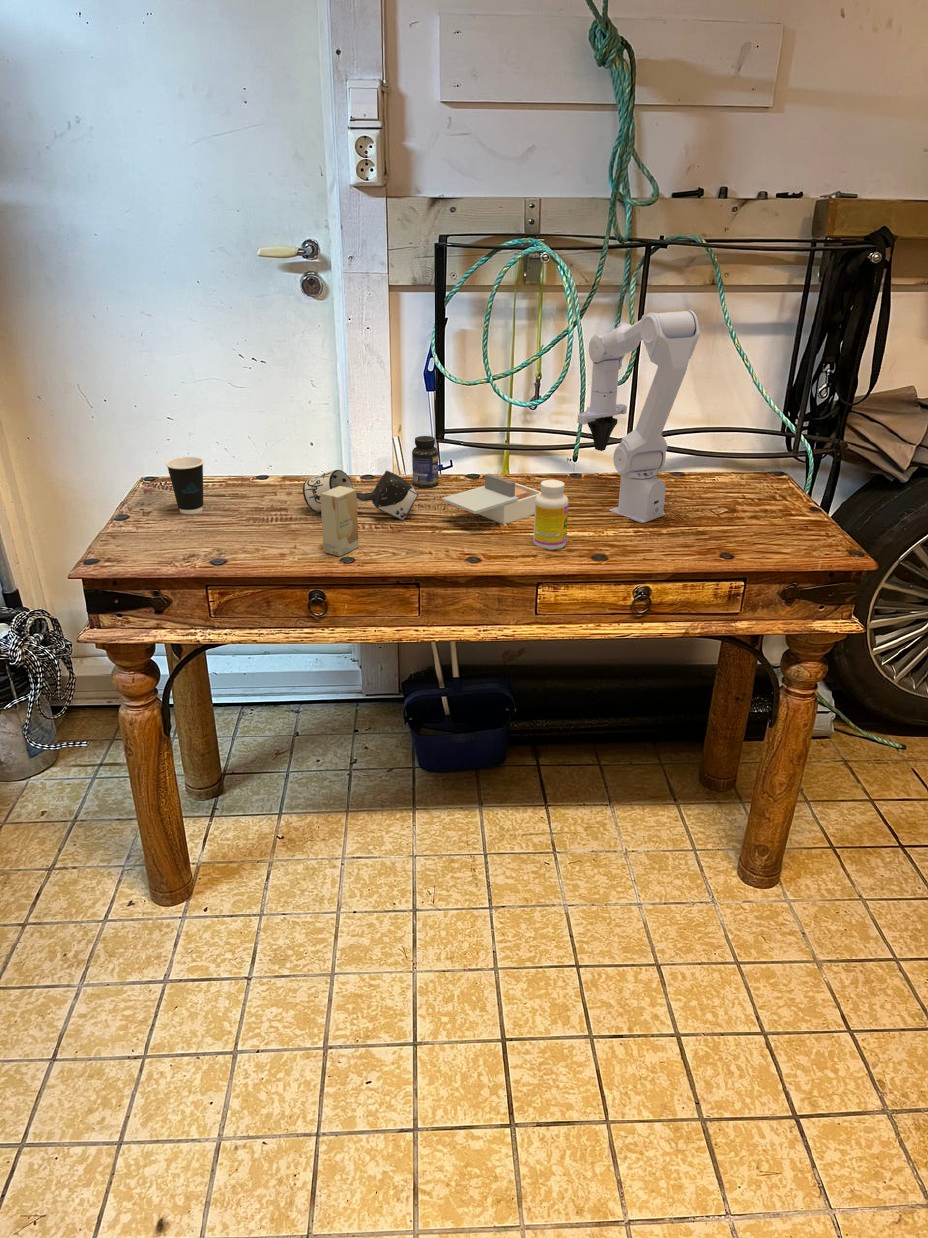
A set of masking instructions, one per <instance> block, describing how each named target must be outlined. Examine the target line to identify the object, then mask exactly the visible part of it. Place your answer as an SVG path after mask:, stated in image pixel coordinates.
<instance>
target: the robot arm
mask: <svg viewBox="0 0 928 1238" xmlns="http://www.w3.org/2000/svg"><path fill="white" fill-rule="evenodd" d="M699 325H700V324H699V319H698V317H697V315H696V313H695V312H694V311H693V310H690V309H687V310H683V311H667V312H648V313H646V314H643V315H642V316H641V319H640V320H638V321H637V322H635V323H634V324H630V323H627V322H619V323H618V324H617V327H616V328H614V329H609V330H607V332H606V333H605V334H594V335H593V336H592V337H591V338H590V340H589V342H588V354H589V358H590V360H591V361H592V372H591V387H590V405H589V406H586V408H587V409H586V410H585V411H583V412H582V413H579V414H577V421H576V422H577V424H580V425H587V426H588V427H589V430H590V433H591V436H592V440H593V446H594V450H596V451H598V452H599V451H600V452H603V451H605V450H606V448H607V446H608V443H609V440H610V438H611V437H610V436H611V435H612V432H613V430H614V429H615V427H616V426H617V424H618V418H615V417H614V416H617V415H625V414H627V408H628V405H626V404H623V403H618V404H617V398H618V397H617V395H618V385H619V371H620V369H621V368H622V364H623V363H622V362H623V360H624V358H625V356H626V355H627V354H629V353H631V352H633V351H635V350H636V349H637V348H639V345H640V342H641V341H643V343H644V347H645V349H646V351H647V355H648V357H649V360H650V362H651V363H653V364H655V365H656V366H657V368H656V372H655V374H654V377H653V380H652V383H651V386H650V388H649V390H648V393H647V396H646V398H645V402H644V404H643V407H642V410H641V413H640V416H639V418H638V421H637V423H636V427H635V428H634V430H632V431H630V432H629V433H628V434H625V436H623V437H622V438H621V441H620V443H619V444H618V445H617V446H616V447H615V450H614V452H613V458H612V459H613V465H614V468H615V470H616V472H617V473H619V474H620V483H619V484H620V485H619V493H618V494H619V495H618V506H616V507H613V508H611V509H609V511H610V512H612V513H615V514H618V515H620V516H623V517H626V518H628V519H629V520H632V521H635V522H637V523H640V524H641V523H642V524H644V523H647V522H650V521H653V520H656V519H657V518H660V517H663V516H666V512H664V511H665V510H664V509H665V500H666V490H667V489H666V484H665V482H664V481H663V480H662V479H660V478H658V477H657V475H658V476H659V471H660V470H662V469H663V467H664V465H665V463H666V457H667V456H666V455H667V450H668V448H669V447H668V446H669V445H668V443H667V440H666V439H665V437H664V436H663V435H662V434H663V431H664V429H665V426H666V423H667V421H668V419H669V416H670V413H671V411H672V408H673V406H674V403H675V400H676V398H677V396H678V394H679V390H680V388H681V385H682V383H683V380H684V378H685V375H686V373H687V370H688V365H689V361H690V359H692V356H693V353H694V351H695V348H696V346H697V343H698V342H699V339H700V335H701V332H700V326H699Z"/></svg>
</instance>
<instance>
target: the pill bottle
mask: <svg viewBox="0 0 928 1238" xmlns="http://www.w3.org/2000/svg"><path fill="white" fill-rule="evenodd" d="M414 445H415V447H414V448H413V449H412V451H411V457H412V459H411V463H412V469H411V470H412V483H413V484H412V485H414V486H415V487H417V488H418V487H419V488H424V489H425V488H433V487H436V486H438V484H439V482H440V481H439V450H438V448H436V447H435V445H436V438H435V437H434V436H432V435H419V436H417V437H415V438H414Z"/></svg>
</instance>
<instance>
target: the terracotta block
mask: <svg viewBox="0 0 928 1238" xmlns="http://www.w3.org/2000/svg"><path fill="white" fill-rule="evenodd" d="M515 496H516V497H518V498H519V500H520V499H523V498H526V497H528V492H527V491H524V490H521V489H518V488H515Z"/></svg>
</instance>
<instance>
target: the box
mask: <svg viewBox="0 0 928 1238" xmlns="http://www.w3.org/2000/svg"><path fill="white" fill-rule="evenodd" d="M515 488H518V489H521V490H524V491H527V492H528V497H526V498H523V499H520V500H518V501H515V502H512V503H508V504H505V505H502V506H499V507H496V508H492V509H489V510H486V511H483V512H480V513H477V515H479V516H482V517H485V518H486V519H488V520H492V521H495V522H497V523H499V524H502V525H506V524H509V523H513V522H515V521H519V520H521V519H524V518H527V517H530V516H533V515H534V513H535V498H536V497H537V495H539V494H540V493H541V490H540V491H539V490H538V489H535V488H531V487H529V486H526V485H523V484H520V483H516V482H515Z"/></svg>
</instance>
